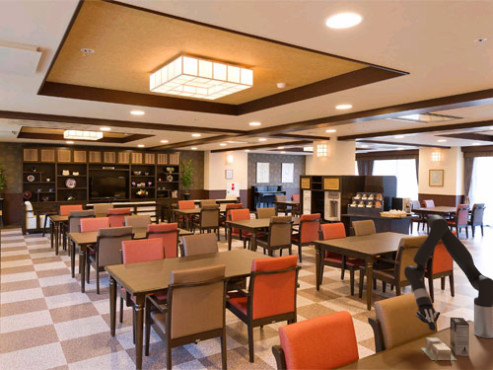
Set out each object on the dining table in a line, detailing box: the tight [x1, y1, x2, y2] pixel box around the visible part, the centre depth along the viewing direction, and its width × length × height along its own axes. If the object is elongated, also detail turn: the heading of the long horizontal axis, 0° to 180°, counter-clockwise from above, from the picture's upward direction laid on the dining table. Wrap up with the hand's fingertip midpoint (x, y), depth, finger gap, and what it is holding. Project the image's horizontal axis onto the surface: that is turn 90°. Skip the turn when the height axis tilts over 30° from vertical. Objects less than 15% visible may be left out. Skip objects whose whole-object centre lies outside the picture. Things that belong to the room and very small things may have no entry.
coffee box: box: [449, 316, 470, 357], centre depth 191 cm, size 9×6×16 cm
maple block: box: [425, 336, 452, 360], centre depth 190 cm, size 5×6×14 cm
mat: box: [420, 347, 458, 362], centre depth 189 cm, size 13×12×1 cm
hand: (433, 330), depth 194 cm, fingers closed
